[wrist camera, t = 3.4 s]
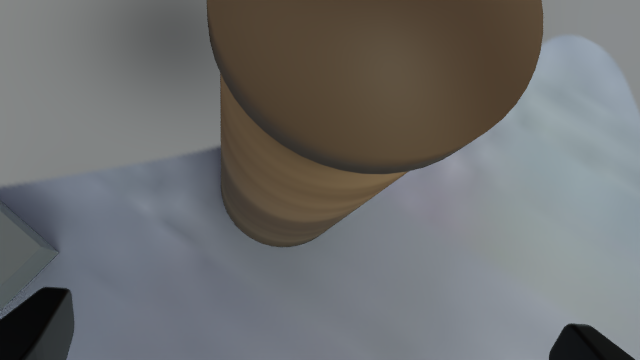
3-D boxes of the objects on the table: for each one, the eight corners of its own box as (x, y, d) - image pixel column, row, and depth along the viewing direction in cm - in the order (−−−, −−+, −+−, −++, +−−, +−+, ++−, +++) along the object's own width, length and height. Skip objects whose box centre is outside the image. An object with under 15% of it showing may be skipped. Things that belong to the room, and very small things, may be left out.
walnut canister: (290, 280, 21) (414, 235, 7) (187, 190, 21) (124, -17, 7) (373, 181, 22) (599, -5, 9) (276, 97, 22) (358, -211, 9)
